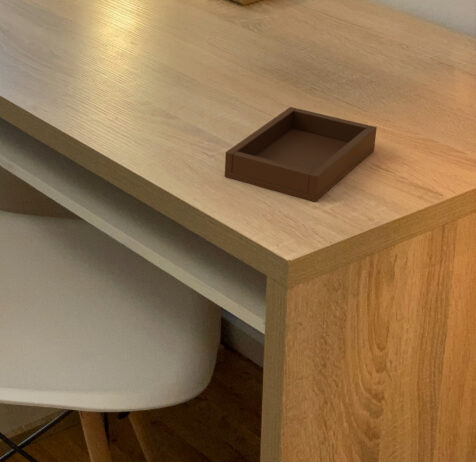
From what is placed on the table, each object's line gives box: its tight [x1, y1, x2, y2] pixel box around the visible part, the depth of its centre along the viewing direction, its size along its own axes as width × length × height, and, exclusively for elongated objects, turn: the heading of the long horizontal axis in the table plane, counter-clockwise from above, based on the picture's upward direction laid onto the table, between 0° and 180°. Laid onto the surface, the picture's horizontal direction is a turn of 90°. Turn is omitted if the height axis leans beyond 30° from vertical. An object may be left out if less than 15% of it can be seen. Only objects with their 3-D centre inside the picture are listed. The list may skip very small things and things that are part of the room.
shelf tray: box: [224, 106, 378, 203], centre depth 105 cm, size 10×14×3 cm
